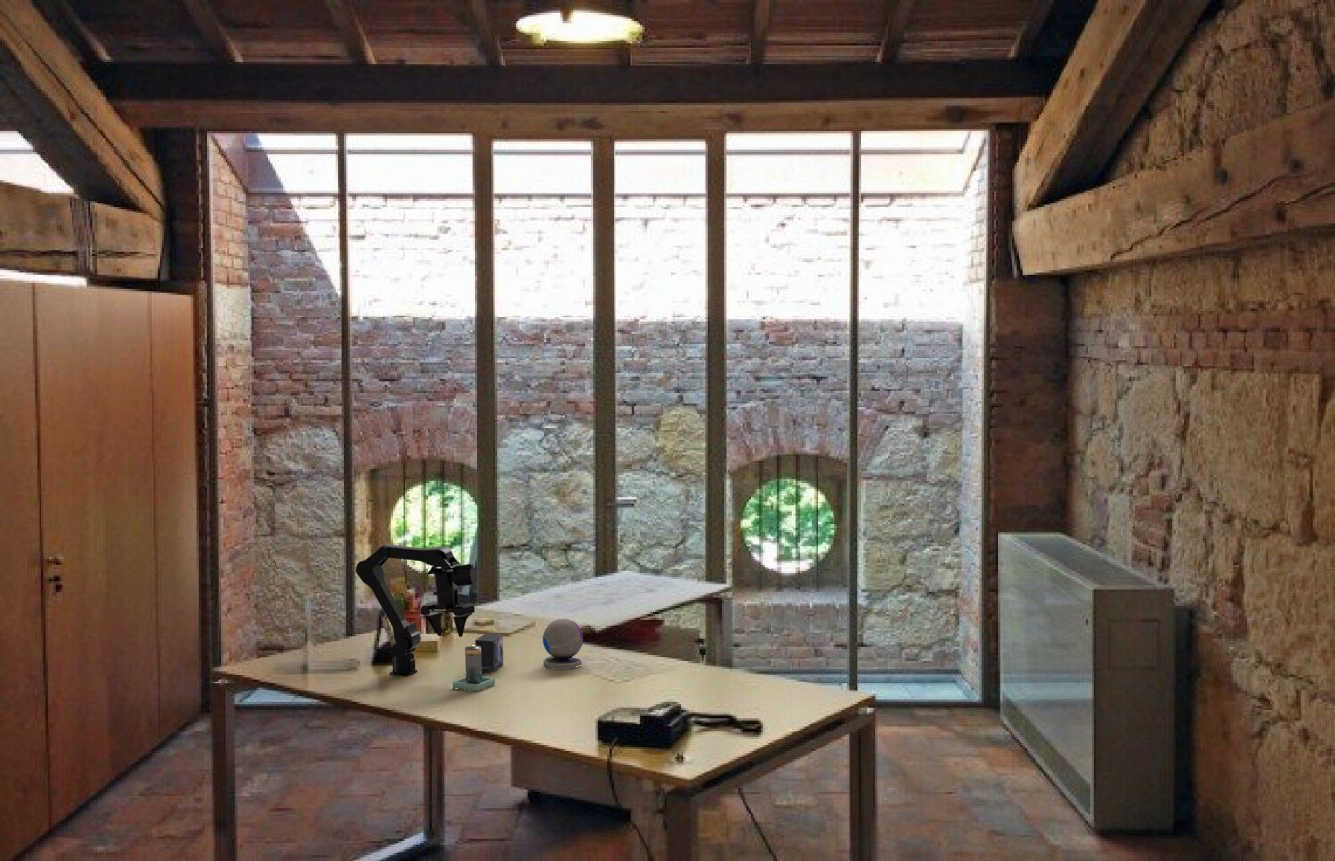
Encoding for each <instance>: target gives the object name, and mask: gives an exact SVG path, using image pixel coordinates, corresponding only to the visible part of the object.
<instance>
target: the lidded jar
mask: <svg viewBox="0 0 1335 861" xmlns="http://www.w3.org/2000/svg"><path fill="white" fill-rule="evenodd" d="M464 647H465V648H464V654H465V655H464V658H465V659H464V660H465V677H466V683H469V684H477V685H478V684H480V683H482V677H483V676H482V674H483V672H482V668H481V647H480V646H476V645H475V644H472V645H469V646H464Z"/></svg>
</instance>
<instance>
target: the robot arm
mask: <svg viewBox="0 0 1335 861" xmlns="http://www.w3.org/2000/svg"><path fill="white" fill-rule="evenodd" d="M390 559H395V560H396V559H397V560H405V561H406V560H407V561H416V562H421V563H424V564H426V565H428V566H431V567H430V569H429V570H428V571H427V575H433V576H434V585H435V591H433V594H432V595H433V596H436V602H430V603H426V604H423V605H421V607H420V614H421V615H423V617H424V618H425V619H426V620H427V621H428V622H429V624H430V625H431V627H432V629H433V630H434V632H435V633H436V635H437V636H438V637H441V636H442V633H443V632H442V631H443V630H442V620H441V619H442V616H443V614H444V613H452V614H453V615H454V616H452V618H453V621H454V626H455V628H456V631H457V634H458V635H457V636H458V637H460V638H462V637H463V635H464V632H465V628H466V627H465V626H466V623H467V620H468V619H469V617H470V616H472V615H473V613H476V610H475V605H474V604H473V603H470V595H469V594H463V593H459V590H458V588H455V585H456V587H465V586H467V587H468V586H476V585H477V583H478V577H479V576H478V572H477V569H476V567H474V563H471V562H470V563H467V564H465V563H464V564H461V562H459V560H458V559H457V558H456V557H455V555H454V553H453V551H452V550H451V549H450V547H449V546H442V545H441V546H432V547H427V548H426V547H425V548H424V547H415V546H404V545H396V544H390V543H386V544H384V545H381V546H380V547H379V548H378V549H377V550H376V551H375V552H373V553H372V554H370V555H369V556H368V557H367V558H365V559H364V560H361V561H358V562H357V564H356V567H355V573H356V574H357V577H358V578H359V579H360V580H361V582H363V583H364V584H365V585H366V586H367V587H369V588H370V590H371V591H372V592H373V595H374V596H375V599H376V600H377V602H378V603H379V606H380V607H381V609H382V611H383V613H384V614H385V616H386V618H387V620H388V621H389V624H390V626H391V627H392V636H393V640H394V642H395V644H393V646H392V647H391V648H389V649H388V653H389V655H390V657H391V658H392V660H391V661H392V662H391V663H392V671H389V675H396V676H405V677H407V676H410V675H412V674H414V673H415V674H416V673H417V672H418V669H416V659H415V651H416V650H417V647H418V646H419V645H420V644H421V640H422V637H421V633H422V632H421V631H420V630H419V629H418V626H417V624H416V622H415V621H413V622H411V623H410V622H409V621H408V620H407V619H406V618H405V615H403V614H404V613H402V610H401V609H400V607H399V604H398V602H397V601H396V600H395V598H394V596H393V594H392V593H391V590H390V588H389V587H388V585H387V584H386V581H385V573H384V570H383V566H384V564H386V562H387V561H388V560H390Z"/></svg>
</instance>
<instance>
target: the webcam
mask: <svg viewBox="0 0 1335 861" xmlns="http://www.w3.org/2000/svg"><path fill="white" fill-rule="evenodd" d="M583 643H584V637H583V633H582V630H581V628H580V626H579V625H578V624H577V623H576V622H575V621H574V620H573V619H569V618H558V619H555V620H553V621H551V622H550V623H549V624H548V625H547V626H546V628H544V631H543V633H542V644H543V647H544V649H545V651H546V652H547V653H548V654H549V655H550V656H548V657H545V658H544V659H543V667H545V666H546V667H548V668H547V669H550V668H555V669H554V670H567V669H566V668H573V667H576V666H579V665H581V664H582V663H583V662H582V659H580V658H576V657H575V656H576V655H577V654H578V653H579V652H580V651H581V648H582V647H583ZM582 665H583V664H582ZM546 667H545V668H546ZM573 669H574V668H573Z"/></svg>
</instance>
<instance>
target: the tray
mask: <svg viewBox="0 0 1335 861" xmlns="http://www.w3.org/2000/svg"><path fill="white" fill-rule="evenodd" d="M494 684H495V685H496V678H494V677H489V676H482V683H480V684H478V685H477V684H469V683H466V676H465V677H461V678H460V679H457V680H454V681H452V689H453V688H458V689H457V690H460V689H463V690H462V691H468V690H470V691H471V692H476V691H478V692H481V691H483V689H484V688H486V689H488V688H491V687H492V685H493V686H495V685H494ZM490 686H491V687H490ZM464 689H465V690H464ZM480 690H481V691H480ZM484 690H485V689H484ZM470 691H469V692H470ZM478 692H477V693H478Z"/></svg>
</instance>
